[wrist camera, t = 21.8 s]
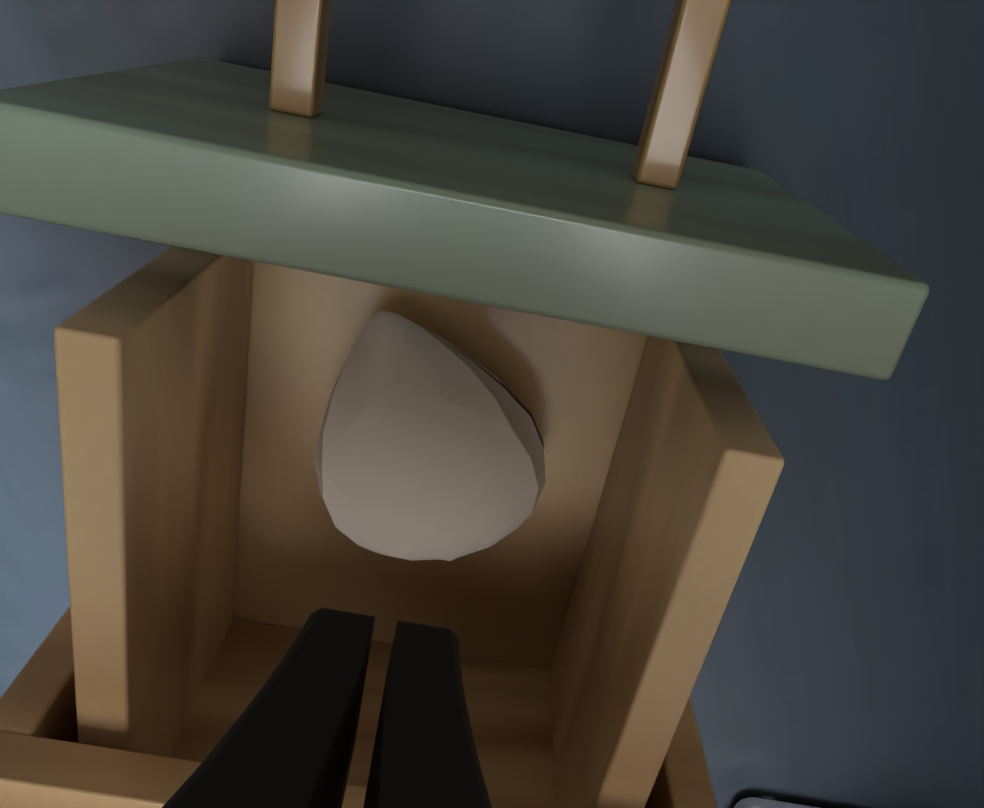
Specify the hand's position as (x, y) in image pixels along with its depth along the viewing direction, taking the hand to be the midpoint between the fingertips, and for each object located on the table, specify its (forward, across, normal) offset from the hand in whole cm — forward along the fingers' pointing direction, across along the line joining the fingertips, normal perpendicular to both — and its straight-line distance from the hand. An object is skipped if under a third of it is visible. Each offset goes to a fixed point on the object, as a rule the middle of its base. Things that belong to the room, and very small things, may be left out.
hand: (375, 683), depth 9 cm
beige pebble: (+8, 0, 0) cm, 8 cm away
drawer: (+9, 0, -2) cm, 9 cm away
